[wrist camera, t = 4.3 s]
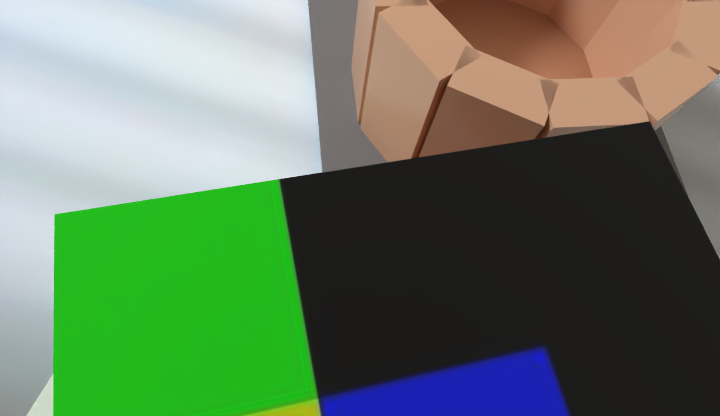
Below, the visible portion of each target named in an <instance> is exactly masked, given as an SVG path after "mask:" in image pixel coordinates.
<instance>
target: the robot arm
mask: <svg viewBox="0 0 720 416" xmlns="http://www.w3.org/2000/svg"><path fill="white" fill-rule="evenodd" d="M27 416H53V375H52V376H51V378H50V379H49V381H48V383H47V384H46V386H45V387H44V389H43V390H42V392H41V394H40V395H39V397H38V398H37V400H36V401H35V403H34V405H33V406H32V408H31V409H30V411H29V412H28V414H27Z"/></svg>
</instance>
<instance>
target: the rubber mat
mask: <svg viewBox="0 0 720 416" xmlns="http://www.w3.org/2000/svg"><path fill="white" fill-rule="evenodd" d="M308 4H309V16H310V28H311V40H312V52H313V64H314V76H315V88H316V100H317V112H318V124H319V136H320V148H321V160H322V172H329V171H335V170H342V169H348V168H354V167H361V166H367V165H374V164H380V163H386V162H387V161H386V160H385V159H384V157H383V156H382V155H381V154H380V152H379V151H378V150H377V149H376V147H375V146H374V145H373V144H372V142H371V141H370V140H369V139H368V138H367V136H366V135H365V134H364V133H363V131H362V130H361V129H360V126H361V123H358V120H357V111H356V103H355V94H354V86H353V77H352V69H351V65H352V55H353V46H354V36H355V27H356V18H357V8H358V0H308ZM655 133H656V135H657V137H658V139H659V141H660V143H661V145H662V147H663V149H664V151H665V153H666V154H667V156H668V158H669V160H670V162H671V164H672V166H673V168H674V170H675V172H676V174H677V176H678V178H679V180H680V182H681V184H682V186H683V188H684V185H683V183H682V180H681V177H680V175H679V172H678V170H677V167H676V164H675V162H674V159H673V157H672V154H671V151H670V149H669V146H668V144H667V141H666V138H665V136H664V133H663V131H662V128H661V126H660V127H659V128H658V129H656V130H655ZM684 190H685V188H684ZM685 192H686V190H685ZM686 194H687V193H686ZM687 196H688V195H687Z"/></svg>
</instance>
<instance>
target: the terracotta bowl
mask: <svg viewBox="0 0 720 416" xmlns="http://www.w3.org/2000/svg"><path fill="white" fill-rule="evenodd" d="M351 69H352V77H353V86H354V94H355V103H356V111H357V120H358V123H361V126H360V129H361V130H362V131H363V133H364V134H365V135H366V136H367V138H368V139H369V140H370V141H371V142H372V144H373V145H374V146H375V147H376V149H377V150H378V151H379V152H380V154H381V155H382V156H383V157H384V159H385V160H386V161H387V162H393V161H399V160H405V159H412V158H418V157H425V156H431V155H437V154H444V153H450V152H456V151H463V150H469V149H476V148H482V147H488V146H495V145H501V144H507V143H514V142H520V141H527V140H533V139H539V138H546V137H552V136H558V135H565V134H571V133H578V132H584V131H590V130H597V129H603V128H609V127H616V126H622V125H629V124H635V123H641V122H648V121H650V123H651V125H652V127H653V129H654V131H655V130H656V129H658V128H659V127H660V126H661V125H662V124H663V123H665V122H666V121H667V120H668V119H669V118H670V117H672V116H673V115H674V114H675V113H676V112H678V111H679V110H680V109H681V108H682V107H683V106H685V105H686V104H687V103H688V102H689V101H690V100H692V99H693V98H694V97H695V96H696V95H697V94H699V93H700V92H701V91H702V90H703V89H705V88H706V87H707V86H708V85H709V84H710V83H712V82H713V81H714V80H715V79H716V78H717V77H719V76H718V74H719V73H720V0H358V8H357V18H356V27H355V36H354V46H353V55H352V65H351Z"/></svg>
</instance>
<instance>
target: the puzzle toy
mask: <svg viewBox="0 0 720 416" xmlns="http://www.w3.org/2000/svg"><path fill="white" fill-rule="evenodd" d="M53 416H720V259H719V257H718V255H717V253H716V251H715V249H714V248H713V246H712V244H711V242H710V240H709V238H708V236H707V234H706V232H705V230H704V228H703V226H702V224H701V222H700V220H699V218H698V216H697V214H696V212H695V210H694V208H693V206H692V204H691V202H690V200H689V198H688V196H687V194H686V192H685V190H684V188H683V186H682V184H681V182H680V180H679V178H678V176H677V174H676V172H675V170H674V168H673V166H672V164H671V162H670V160H669V158H668V156H667V154H666V153H665V151H664V149H663V147H662V145H661V143H660V141H659V139H658V137H657V135H656V133H655V131H654V129H653V127H652V125H651V123H650V121H648V122H641V123H635V124H629V125H622V126H616V127H609V128H603V129H597V130H590V131H584V132H578V133H571V134H565V135H558V136H552V137H546V138H539V139H533V140H527V141H520V142H514V143H507V144H501V145H495V146H488V147H482V148H476V149H469V150H463V151H456V152H450V153H444V154H437V155H431V156H425V157H418V158H412V159H405V160H399V161H393V162H386V163H380V164H374V165H367V166H361V167H354V168H348V169H342V170H335V171H329V172H323V173H316V174H310V175H303V176H297V177H291V178H284V179H278V180H272V181H265V182H259V183H252V184H246V185H240V186H233V187H227V188H221V189H214V190H208V191H201V192H195V193H189V194H182V195H176V196H170V197H163V198H157V199H150V200H144V201H138V202H131V203H125V204H119V205H112V206H106V207H99V208H93V209H87V210H80V211H74V212H68V213H61V214H55V236H54V357H53Z"/></svg>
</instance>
